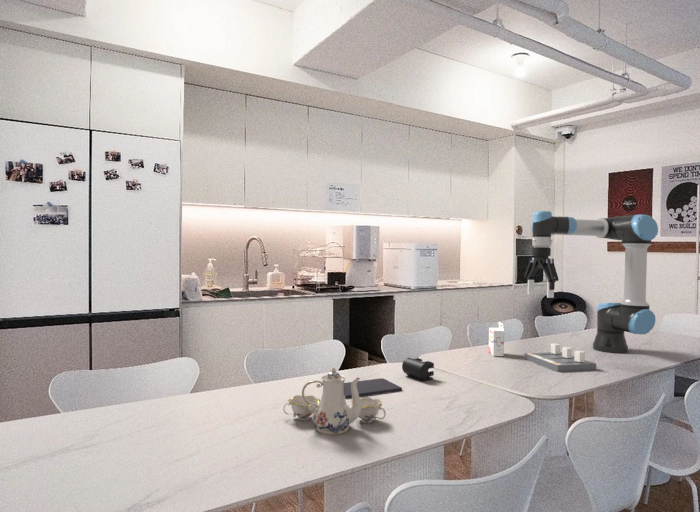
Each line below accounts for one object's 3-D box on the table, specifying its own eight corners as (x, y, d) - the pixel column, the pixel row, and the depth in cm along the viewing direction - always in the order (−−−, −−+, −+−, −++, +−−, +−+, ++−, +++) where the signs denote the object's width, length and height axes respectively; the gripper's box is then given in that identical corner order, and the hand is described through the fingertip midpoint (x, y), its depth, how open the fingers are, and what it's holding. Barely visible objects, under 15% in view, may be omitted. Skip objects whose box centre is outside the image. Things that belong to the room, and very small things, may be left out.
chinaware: (382, 420, 137) (382, 361, 139) (389, 437, 121) (389, 370, 122) (284, 419, 136) (286, 360, 138) (277, 436, 120) (279, 369, 121)
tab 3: (579, 360, 197) (579, 350, 197) (584, 362, 194) (585, 352, 194) (574, 360, 196) (574, 350, 196) (579, 362, 193) (579, 352, 193)
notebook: (345, 400, 151) (402, 392, 160) (345, 395, 151) (402, 387, 160) (328, 389, 162) (382, 382, 172) (328, 384, 162) (382, 377, 172)
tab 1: (555, 352, 211) (555, 343, 211) (560, 353, 208) (560, 344, 208) (550, 352, 211) (550, 343, 211) (555, 354, 208) (555, 344, 208)
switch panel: (559, 357, 214) (559, 351, 214) (596, 369, 193) (596, 363, 193) (524, 358, 210) (524, 352, 210) (557, 371, 188) (557, 365, 188)
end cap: (401, 376, 178) (401, 358, 178) (415, 373, 183) (415, 356, 182) (420, 382, 170) (420, 363, 170) (434, 379, 174) (434, 361, 174)
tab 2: (567, 356, 204) (567, 346, 204) (572, 357, 201) (572, 348, 201) (562, 356, 203) (562, 347, 203) (566, 358, 200) (567, 348, 200)
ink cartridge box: (487, 352, 222) (488, 320, 222) (498, 352, 222) (499, 321, 222) (492, 356, 213) (493, 323, 213) (504, 357, 213) (504, 324, 213)
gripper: (517, 246, 218) (515, 293, 218) (552, 246, 194) (551, 299, 194) (531, 247, 220) (530, 293, 220) (568, 247, 196) (567, 299, 196)
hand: (540, 296), depth 207 cm, fingers open, 13 cm apart
